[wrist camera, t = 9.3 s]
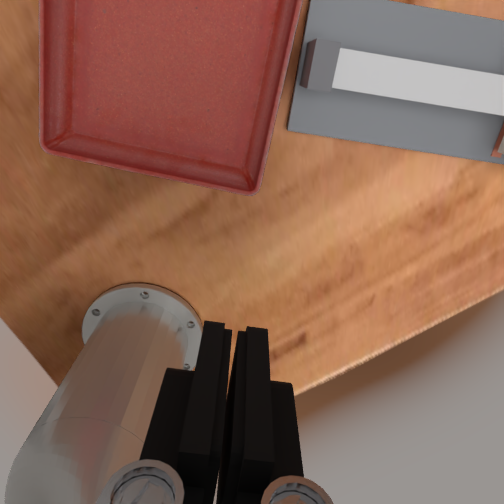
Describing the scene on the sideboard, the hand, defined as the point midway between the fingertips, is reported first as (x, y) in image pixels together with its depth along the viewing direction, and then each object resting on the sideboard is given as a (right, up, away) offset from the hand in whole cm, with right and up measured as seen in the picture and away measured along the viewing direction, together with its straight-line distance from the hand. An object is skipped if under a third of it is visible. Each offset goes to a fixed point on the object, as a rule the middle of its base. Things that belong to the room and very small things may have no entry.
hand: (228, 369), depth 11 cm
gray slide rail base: (+16, +16, +22) cm, 31 cm away
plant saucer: (-6, +19, +22) cm, 29 cm away
